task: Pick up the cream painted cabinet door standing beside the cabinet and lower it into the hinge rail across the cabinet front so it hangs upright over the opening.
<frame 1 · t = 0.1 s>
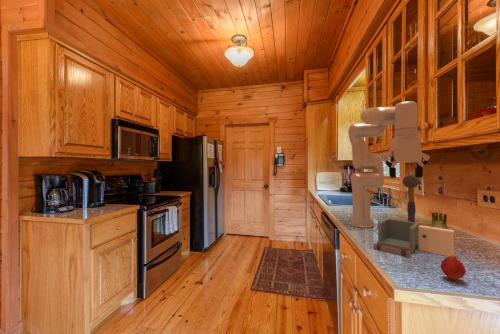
hand: (405, 177, 91), 31 cm above the counter, tool pointing down, fingers open, 9 cm apart
fennel bulb: (438, 237, 115), on the counter
rubber mallet: (411, 227, 131), on the counter
door: (435, 252, 95), on the counter
cabinet: (392, 250, 97), on the counter
onion: (452, 280, 73), on the counter
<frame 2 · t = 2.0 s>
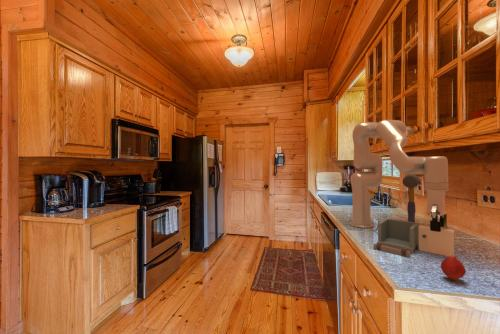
hand: (437, 228, 94), 10 cm above the counter, tool pointing down, fingers open, 9 cm apart
nothing on the counter moved.
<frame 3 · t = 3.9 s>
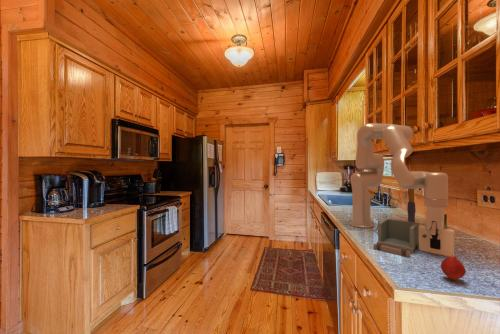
hand: (435, 247, 95), 2 cm above the counter, tool pointing down, fingers closed on door, 3 cm apart
door: (435, 252, 95), on the counter, touching gripper
everything else where it was.
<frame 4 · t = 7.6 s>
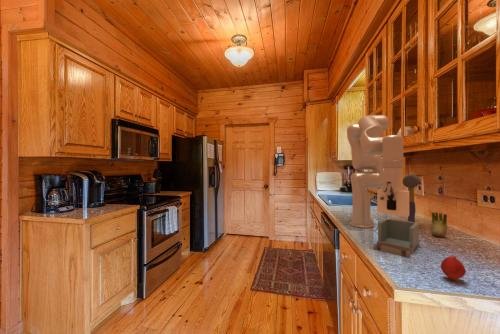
hand: (392, 208, 97), 18 cm above the counter, tool pointing down, fingers closed on door, 3 cm apart
door: (392, 214, 97), point 16 cm above the counter, touching gripper
everything else where it was.
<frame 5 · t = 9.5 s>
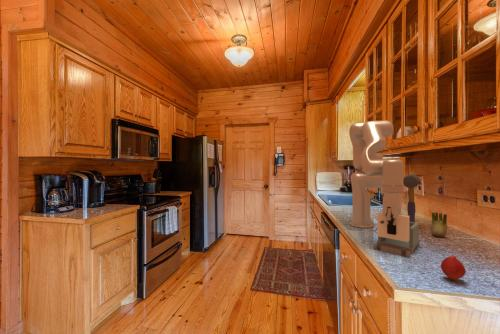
hand: (392, 232, 97), 8 cm above the counter, tool pointing down, fingers closed on door, 3 cm apart
door: (393, 238, 97), point 5 cm above the counter, touching gripper
everything else where it was.
when the fingers open (4 cm above the counter, at t = 11.3 s): door drops 1 cm, resting in cabinet.
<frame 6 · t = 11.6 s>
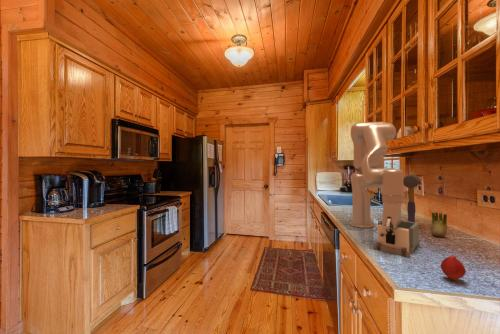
hand: (392, 241, 97), 4 cm above the counter, tool pointing down, fingers open, 6 cm apart
door: (392, 251, 97), resting in cabinet
everything else where it was.
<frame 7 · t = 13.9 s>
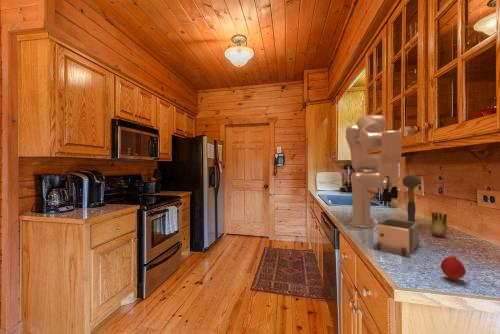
hand: (390, 199, 100), 21 cm above the counter, tool pointing down, fingers open, 9 cm apart
nothing on the counter moved.
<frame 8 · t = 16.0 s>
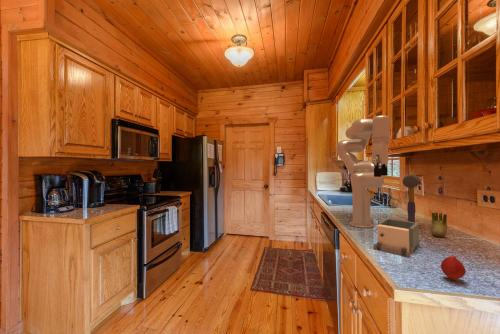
hand: (380, 176, 114), 30 cm above the counter, tool pointing down, fingers open, 9 cm apart
nothing on the counter moved.
at the end: door 0.1 cm off-centre on the cabinet, point 0.0 cm above the cabinet's base; door tilted 0°; the gripper is holding nothing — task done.
